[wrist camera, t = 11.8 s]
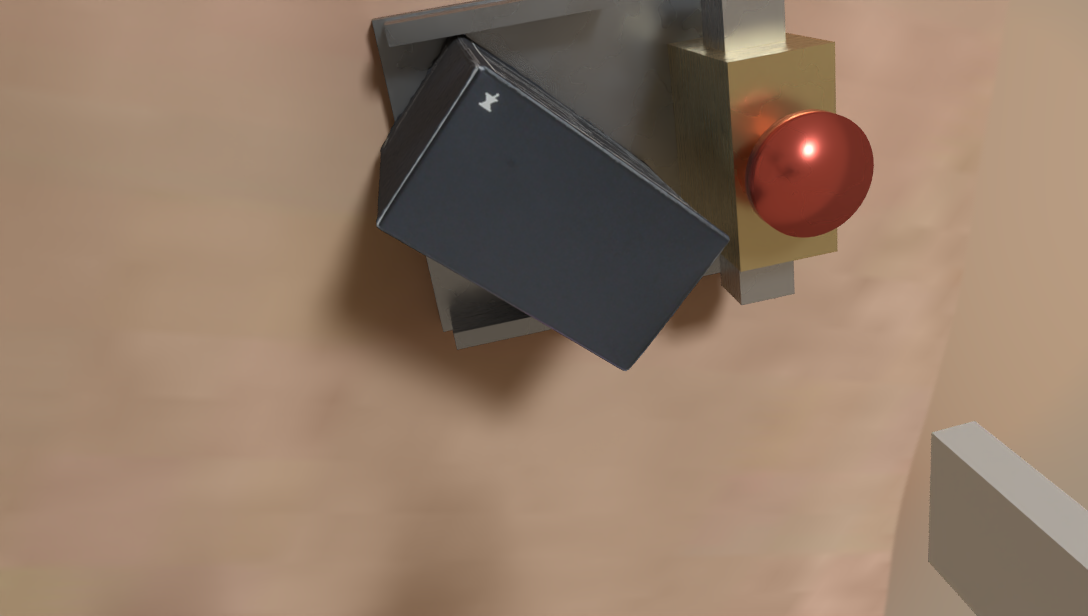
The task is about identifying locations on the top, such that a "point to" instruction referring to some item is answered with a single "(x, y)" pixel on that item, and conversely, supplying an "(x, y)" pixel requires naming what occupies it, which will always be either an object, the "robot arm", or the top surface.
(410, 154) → the small box
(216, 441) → the top surface
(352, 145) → the top surface
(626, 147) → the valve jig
